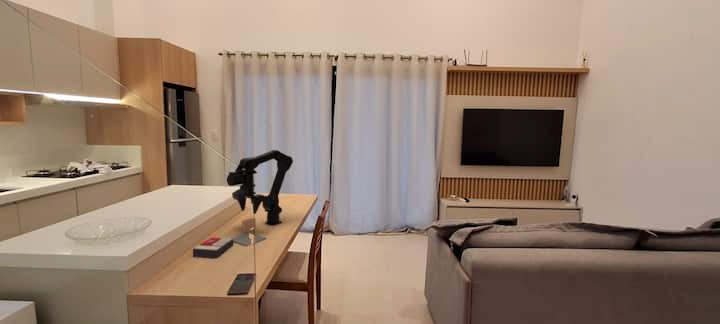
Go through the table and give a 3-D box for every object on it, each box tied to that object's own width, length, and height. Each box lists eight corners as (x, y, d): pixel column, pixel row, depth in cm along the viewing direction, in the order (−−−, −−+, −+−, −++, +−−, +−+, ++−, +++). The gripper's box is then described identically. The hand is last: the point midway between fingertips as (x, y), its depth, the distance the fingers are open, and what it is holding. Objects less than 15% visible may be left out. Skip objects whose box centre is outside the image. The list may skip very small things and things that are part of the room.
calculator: (233, 238, 157) (216, 249, 142) (233, 247, 157) (217, 259, 142) (211, 236, 158) (192, 247, 143) (211, 245, 158) (192, 257, 143)
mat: (248, 233, 172) (248, 232, 172) (266, 238, 165) (266, 237, 165) (228, 240, 162) (228, 239, 162) (246, 246, 155) (246, 245, 155)
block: (253, 228, 180) (252, 217, 179) (255, 229, 179) (255, 218, 178) (242, 232, 174) (242, 220, 173) (244, 232, 173) (244, 221, 172)
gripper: (222, 183, 171) (224, 212, 173) (247, 188, 161) (248, 219, 163) (241, 179, 180) (242, 208, 183) (265, 184, 170) (265, 214, 173)
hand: (248, 212), depth 175 cm, fingers open, 9 cm apart
